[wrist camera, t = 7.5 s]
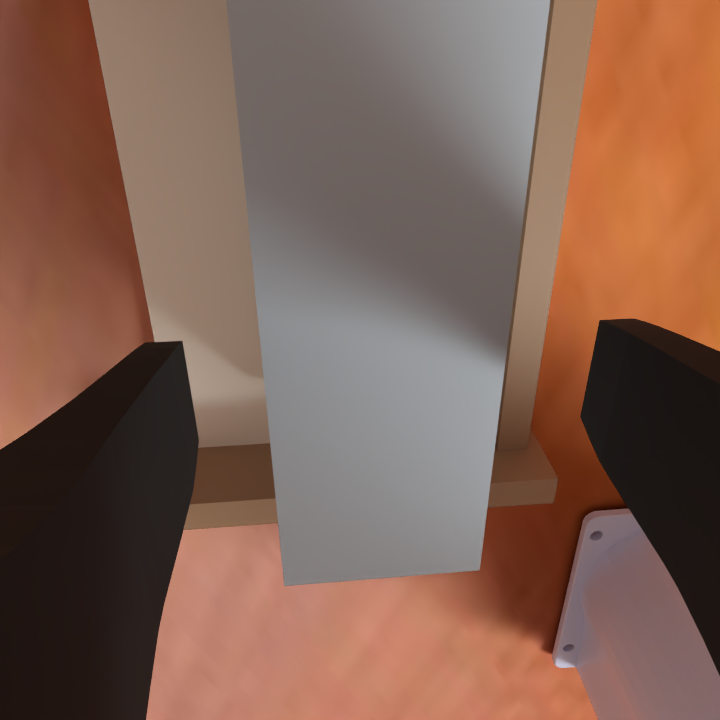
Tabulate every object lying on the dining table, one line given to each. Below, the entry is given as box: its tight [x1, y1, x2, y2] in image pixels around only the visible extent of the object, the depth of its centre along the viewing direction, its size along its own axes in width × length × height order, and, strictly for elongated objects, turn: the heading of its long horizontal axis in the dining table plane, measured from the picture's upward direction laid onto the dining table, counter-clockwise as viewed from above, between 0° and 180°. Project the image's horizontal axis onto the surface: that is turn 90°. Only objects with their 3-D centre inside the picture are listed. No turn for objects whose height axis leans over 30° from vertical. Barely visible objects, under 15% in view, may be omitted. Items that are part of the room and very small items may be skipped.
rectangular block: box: [226, 0, 550, 586], centre depth 14 cm, size 12×4×6 cm, turn 0°
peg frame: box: [88, 0, 597, 530], centre depth 17 cm, size 18×12×4 cm, turn 0°
